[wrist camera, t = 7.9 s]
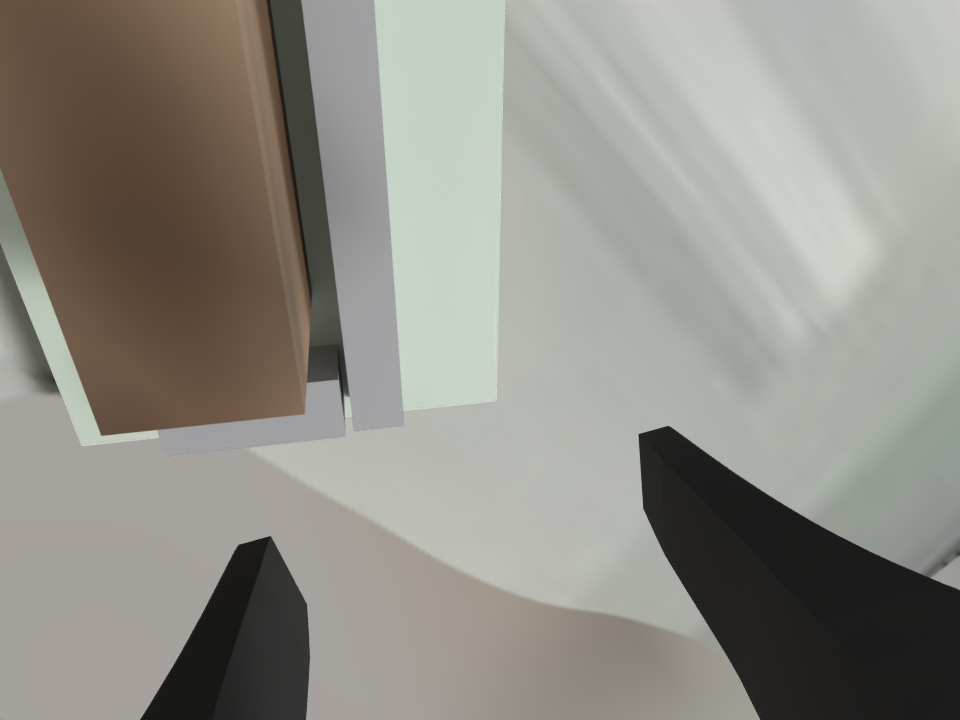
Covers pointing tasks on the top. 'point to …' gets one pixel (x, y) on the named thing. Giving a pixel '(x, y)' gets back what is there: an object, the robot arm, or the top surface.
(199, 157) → the brown rectangular box
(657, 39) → the top surface
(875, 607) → the robot arm
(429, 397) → the board
